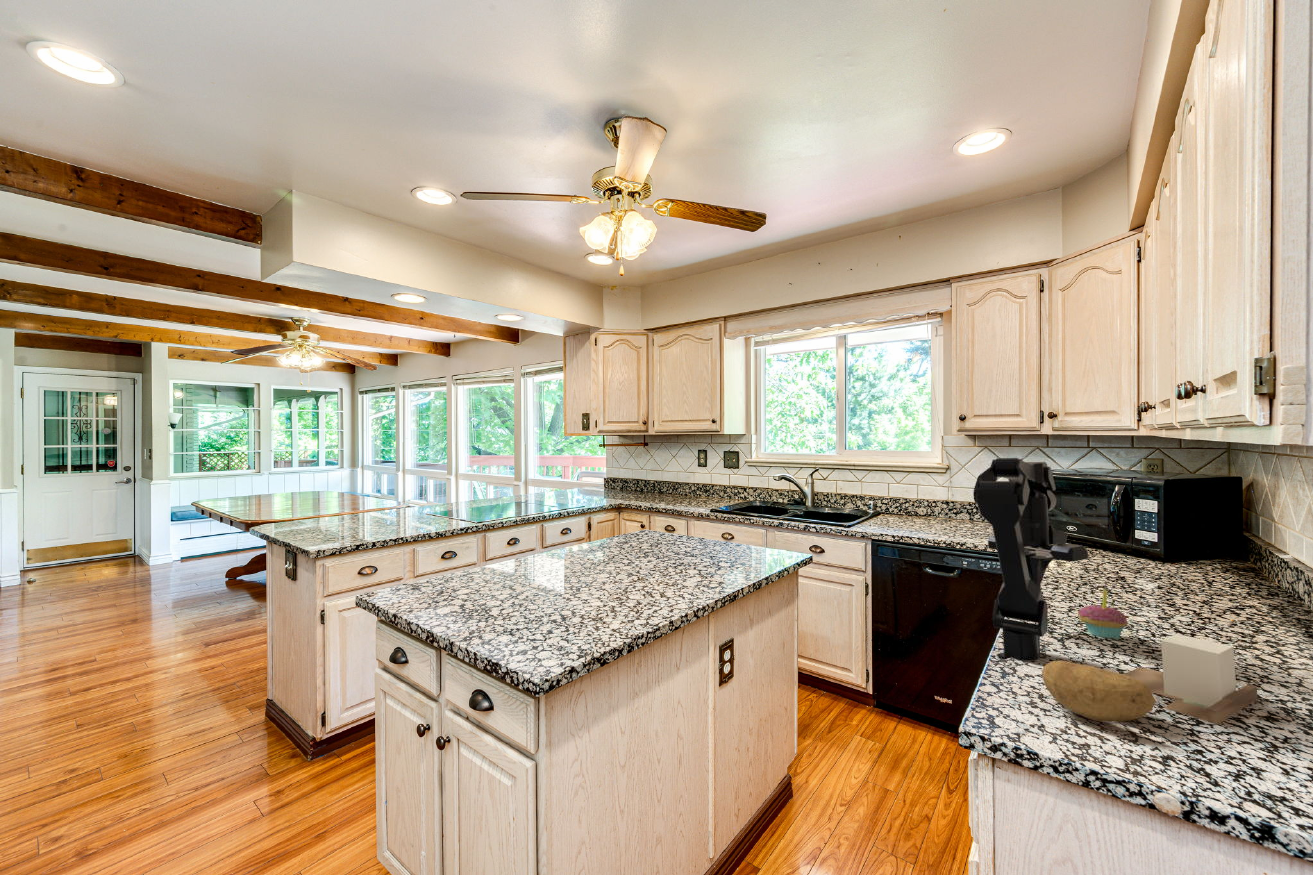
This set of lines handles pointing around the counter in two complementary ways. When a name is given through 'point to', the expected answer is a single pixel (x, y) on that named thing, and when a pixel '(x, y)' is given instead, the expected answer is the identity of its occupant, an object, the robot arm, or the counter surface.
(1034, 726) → the counter surface
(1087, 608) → the cupcake
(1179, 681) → the block
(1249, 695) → the lane board
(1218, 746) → the counter surface
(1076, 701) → the potato
